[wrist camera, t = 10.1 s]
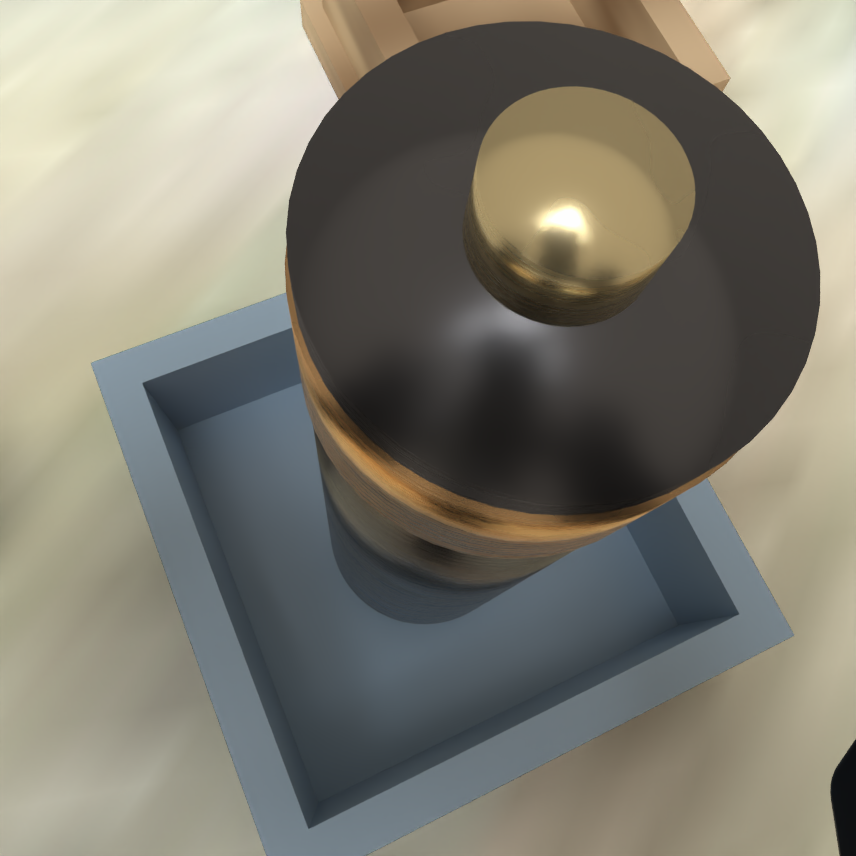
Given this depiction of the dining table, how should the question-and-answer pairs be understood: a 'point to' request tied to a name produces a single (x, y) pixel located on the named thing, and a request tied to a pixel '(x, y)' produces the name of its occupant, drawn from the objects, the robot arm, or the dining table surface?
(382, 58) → the brown wooden square box
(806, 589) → the dining table surface
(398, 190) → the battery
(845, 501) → the dining table surface
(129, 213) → the dining table surface
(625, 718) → the tray
